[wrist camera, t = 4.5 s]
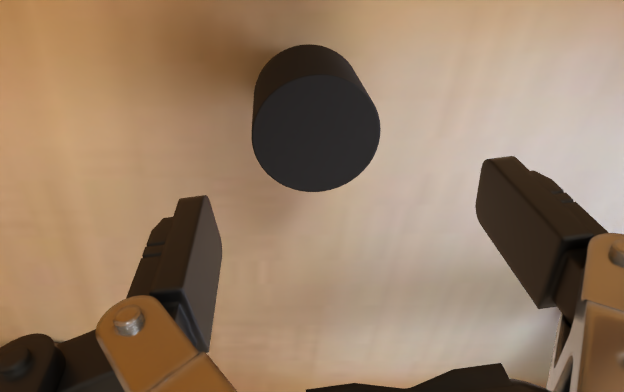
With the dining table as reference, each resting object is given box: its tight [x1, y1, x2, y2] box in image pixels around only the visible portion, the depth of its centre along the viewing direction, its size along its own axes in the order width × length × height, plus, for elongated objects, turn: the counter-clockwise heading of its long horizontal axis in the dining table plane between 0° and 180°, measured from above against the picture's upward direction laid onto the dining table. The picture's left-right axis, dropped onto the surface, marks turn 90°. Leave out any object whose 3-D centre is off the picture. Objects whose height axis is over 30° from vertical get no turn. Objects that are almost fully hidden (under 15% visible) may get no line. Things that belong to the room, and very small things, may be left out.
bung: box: [252, 45, 380, 192], centre depth 18 cm, size 5×5×6 cm
